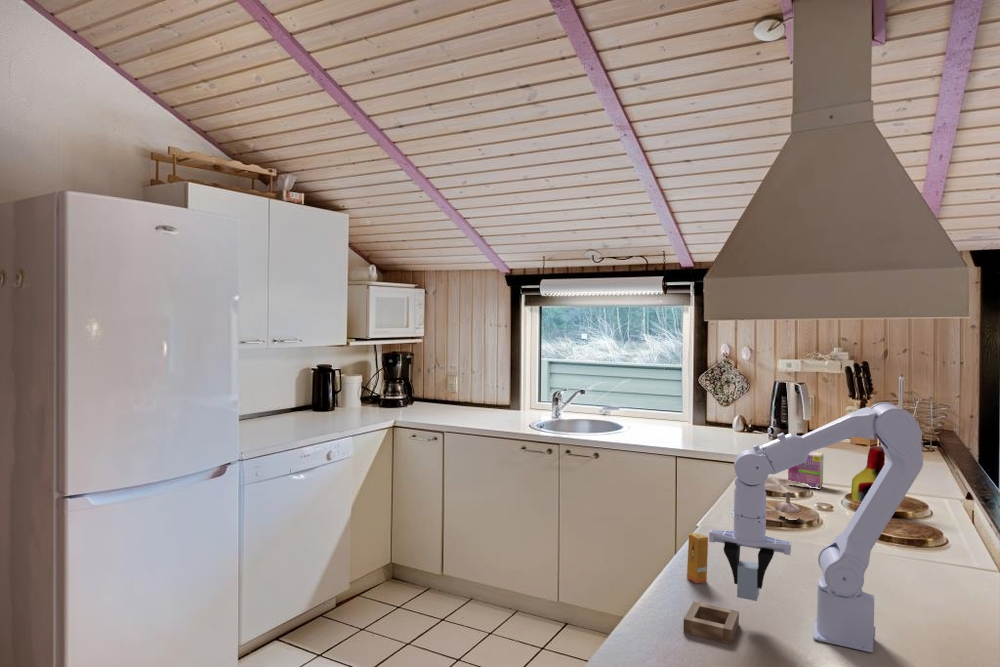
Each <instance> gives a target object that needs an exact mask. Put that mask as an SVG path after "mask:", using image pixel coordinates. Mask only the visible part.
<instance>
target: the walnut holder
mask: <svg viewBox="0 0 1000 667" xmlns="http://www.w3.org/2000/svg"><path fill="white" fill-rule="evenodd" d="M739 623H740V611H739V610H734V609H730V608H726V607H721V606H716V605H711V604H708V603H707V604H706V603H703V602H697V601H692V603H691V605H690V607H689V608H688V611H687V612H686V614H685V616H684V618H683V629H682V631H683V633H685V634H689V635H693V636H698V637H701V638H706V639H710V640H714V641H718V642H722V643H726V644H732V643H733V640H734V638H735V636H736V632H737V630H738V627H739Z"/></svg>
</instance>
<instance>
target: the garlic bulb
mask: <svg viewBox="0 0 1000 667" xmlns="http://www.w3.org/2000/svg"><path fill="white" fill-rule="evenodd" d="M775 509H776V510H779V511H781V512H786V513H799V512H801V511H802V509H801V508H799V506H797V505H795V504H793V503H791V491H787V492H786V495H785V501H781V502H779V503H777V504H776V505H775V507H774V510H775Z"/></svg>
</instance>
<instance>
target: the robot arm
mask: <svg viewBox="0 0 1000 667" xmlns="http://www.w3.org/2000/svg"><path fill="white" fill-rule="evenodd" d="M922 436H923V431H922V429H921V427H920V426H919V423H918V422H917V420H916V419H915V417H914V415H913V414H911V413H910V412H909V411H908V410H905V409H904V408H903V409H902V408H900V407H899V406H897V405H896V404H895V403H891V402H887V401H883V402H878V403H875V404H873V405H871V406H870V407H869V406H866V407H862V408H860V409H857V410H854V411H853V412H849V413H847V414H846V415H844V416H842V417H840V418H838V419H835V420H833V421H831V422H828V423H826V424H824V425H822V426H820V427H818V428H816V429H813V430H812V431H809V432H807V433H805V434H802V435H797V434H795V433H791V432H790V433H787V434H785V433H784V432H781V433H778V434H776V437H777V438H776V439H773V440H771V441H768V442H766V443H763V444H761V445H759V444H754V445H753V446H752V448H753V449H745V450H742V451H740V452H739V453H738V454H737V455H736V456H735V459H734V461H733V467H734V468H733V469H734V472H735V480H734V486H735V487H734V489H733V490H734V491H733V492H734V494H733V530H720V529H713V528H712V529H711V528H710V530H709V533H708V543H721V544H724V545H723V552H724V555H725V556H726V559H727V560H728V563H729V565H730V569H731V572H732V576H733V582H734V583H733V584H735V585H737V576H738V564H739V562H740V560H741V559H740V558H741V557H740V556H741V554H740V553H741V547H746V548H752V549H756V550H758V549H759V551H758V554H757V561H758V562H757V563H758V581H757V588H759V590H762V588H763V584H764V577H765V573H766V572H767V569H768V568H769V565H770V562H771V561H772V560H773V557H774V554H775V552H776V553H780V554H781V553H782V554H783V555H786V556H791V553H792V542H791V541H787V540H783V539H778V538H775V537H771V536H768V535H766V528H767V526H766V524H767V522H766V519H767V491H766V481H767V479H768V477H769V475H772V476H773V475H777V474H779V473H781V472H784V471H787V470H788V469H789V468H791V467H794V466H796V465H799V464H801V463H804V462H806V460H807V457H808V455H809V453H810V452H814V451H818V450H820V449H822V448H826V447H828V446H831V445H834V444H837V443H840V442H842V441H844V440H845V441H846V440H848V439H850V438H855V437H856V438H861V439H865V440H866V439H867V440H875V437H876V438H877V440H878V441H879V442H880V446H881V447H882V448H883V450H884V452H885V458H886V460H885V461H886V462H885V465H884V466H883V468H882V470H881V471H880V473H879V475H878V476H877V478H876V479H875V481H874V483H873V484H872V486H871V488H870V489H869V491H868V493H867V494H866V496H865V497H864V499H863V501H862V502H861V504H860V506H859V507H858V508H856V510H855V513H854V514H853V515H852V517H851V519H850V521H849V522H848V524H847V525H846V527H845V528H844V531H843V532H841V533H840V534H838V535H837V536H835V538H834V539H833V540H832V542H831V543H829V544H828V545H826V546H825V547H823V548H822V549H821V550H820V551H819V554H818V557H817V562H818V566H819V568H820V570H821V572H822V575H821V577H820V578H819V579H818V580H817V597H816V598H817V599H816V600H817V601H816V619H815V620H814V625H813V626H814V627H813V632H812V633H813V635H812V639H813V640H815V641H819V642H823V643H828V644H833V645H837V646H841V647H845V648H850V649H855V650H859V651H863V652H868V653H874V638H876V626H875V595H874V594H871V593H868V592H865V591H863V589H862V588H863V587H864V583H865V572H866V571H867V568H868V567H869V564H870V557H871V552H872V549H873V548H874V546H875V545H876V543H877V541H878V540H879V538H880V537H881V535H882V534H883V532H884V530H885V528H886V527H887V525H889V523H890V521H891V519H892V518H893V515H894V514H895V512H896V511H897V510H898V508H899V506H900V505H901V503H902V501H903V499H904V498H905V496H906V495H907V494H908V492H909V490H910V489H911V486H912V485H913V484H914V482H915V481H916V479H917V477H918V476H919V474H920V472H921V471H922V469H923V466H924V458H923V456H924V455H923V447H922V446H923V445H922Z"/></svg>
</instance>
